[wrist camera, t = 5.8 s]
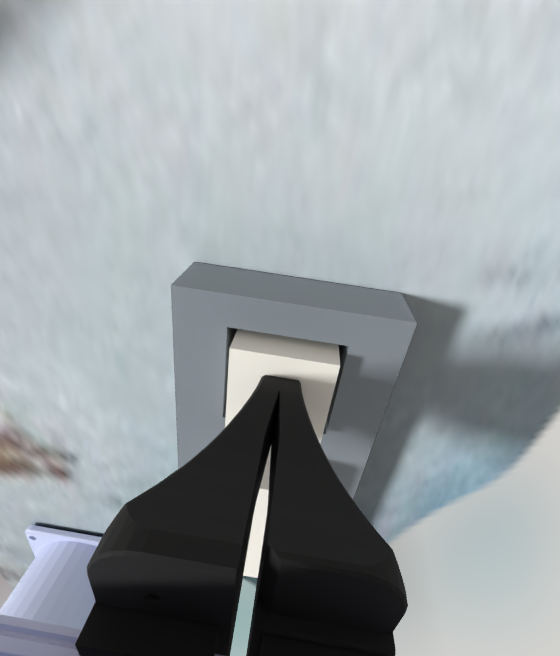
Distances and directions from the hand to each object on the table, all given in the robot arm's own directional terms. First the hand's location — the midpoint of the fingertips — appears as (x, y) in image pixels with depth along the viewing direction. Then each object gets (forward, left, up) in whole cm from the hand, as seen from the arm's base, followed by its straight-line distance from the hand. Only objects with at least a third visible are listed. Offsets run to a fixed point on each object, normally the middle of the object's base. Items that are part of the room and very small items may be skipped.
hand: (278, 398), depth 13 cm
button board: (-6, 0, -3) cm, 6 cm away
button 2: (0, 0, -3) cm, 3 cm away
